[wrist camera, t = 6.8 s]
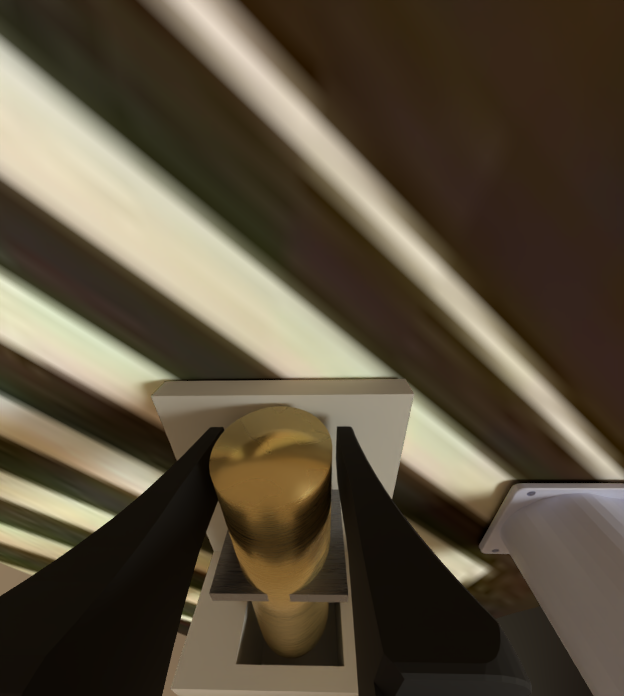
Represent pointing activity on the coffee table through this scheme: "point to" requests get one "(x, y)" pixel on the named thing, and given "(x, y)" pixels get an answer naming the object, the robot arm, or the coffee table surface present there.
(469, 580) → the coffee table surface
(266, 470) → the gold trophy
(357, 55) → the coffee table surface
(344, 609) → the housing
